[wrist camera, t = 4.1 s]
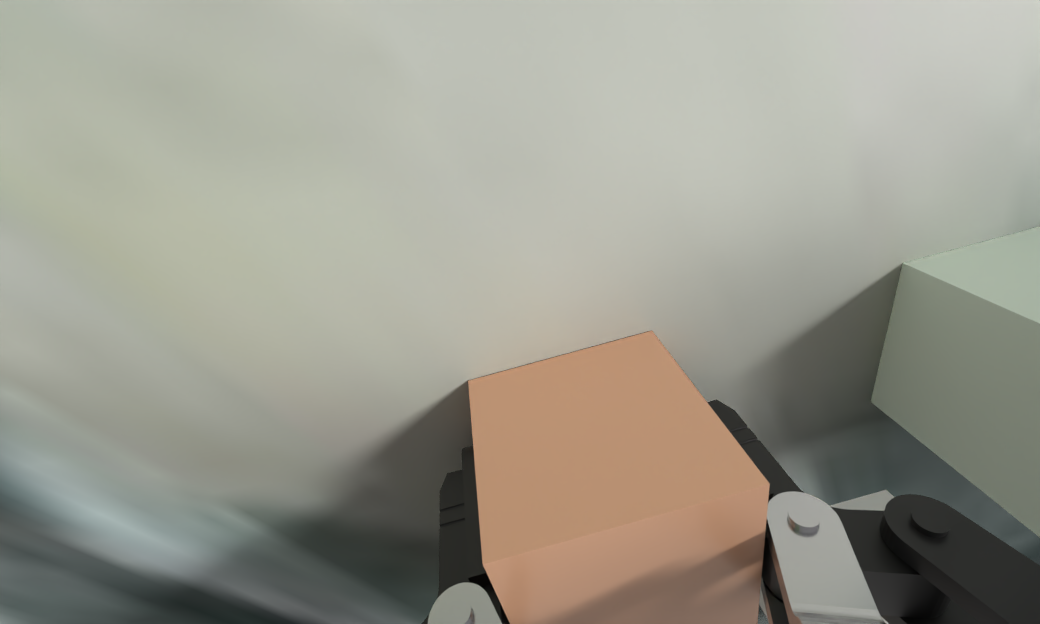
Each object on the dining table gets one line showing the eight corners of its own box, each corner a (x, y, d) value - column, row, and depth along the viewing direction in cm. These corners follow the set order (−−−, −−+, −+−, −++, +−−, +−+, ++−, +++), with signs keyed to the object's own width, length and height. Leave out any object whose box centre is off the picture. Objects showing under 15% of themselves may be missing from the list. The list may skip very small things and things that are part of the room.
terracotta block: (652, 330, 12) (770, 483, 8) (663, 458, 15) (756, 628, 10) (467, 380, 12) (482, 564, 8) (511, 501, 14) (540, 690, 10)
